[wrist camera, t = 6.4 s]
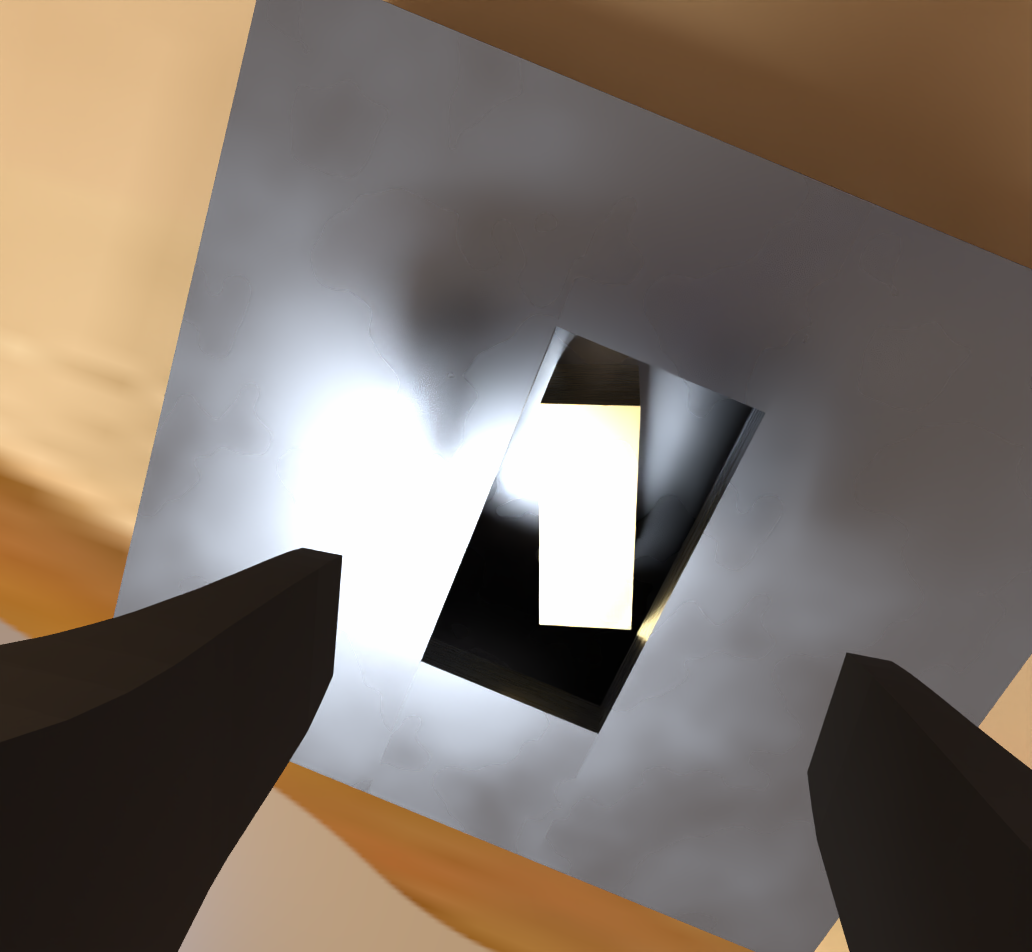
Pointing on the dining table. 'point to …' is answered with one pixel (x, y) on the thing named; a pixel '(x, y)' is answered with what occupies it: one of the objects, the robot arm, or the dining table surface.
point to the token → (588, 495)
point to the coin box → (516, 453)
